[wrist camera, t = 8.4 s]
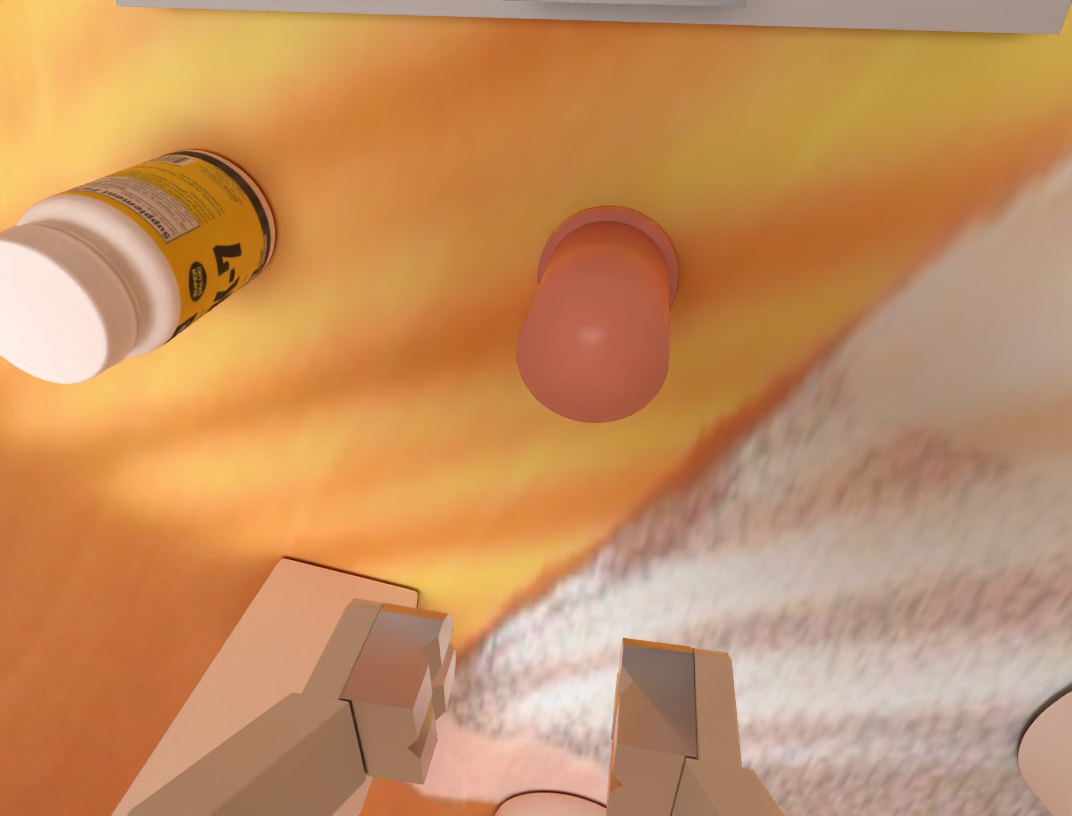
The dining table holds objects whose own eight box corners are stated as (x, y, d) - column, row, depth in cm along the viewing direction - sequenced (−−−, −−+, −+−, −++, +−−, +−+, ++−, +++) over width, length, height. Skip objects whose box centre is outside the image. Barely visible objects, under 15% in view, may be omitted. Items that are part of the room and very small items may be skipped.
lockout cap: (687, 210, 21) (692, 284, 16) (668, 341, 24) (668, 440, 19) (542, 201, 22) (505, 269, 17) (539, 329, 24) (505, 422, 19)
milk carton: (282, 554, 33) (-64, 1076, 18) (420, 588, 33) (194, 1152, 17) (288, 642, 37) (11, 1131, 22) (411, 673, 37) (221, 1192, 21)
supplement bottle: (249, 304, 26) (92, 428, 19) (135, 225, 24) (-76, 325, 18) (301, 208, 23) (143, 310, 16) (178, 115, 22) (-48, 182, 15)
